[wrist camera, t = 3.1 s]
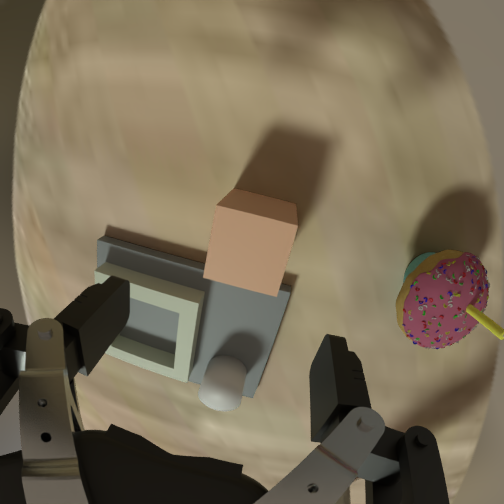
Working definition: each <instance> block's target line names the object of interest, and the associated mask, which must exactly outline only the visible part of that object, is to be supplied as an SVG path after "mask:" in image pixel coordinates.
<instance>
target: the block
mask: <svg viewBox="0 0 504 504" xmlns="http://www.w3.org/2000/svg"><path fill="white" fill-rule="evenodd" d="M297 228H298V218H297V208H296V204H295V203H291V202H287V201H283V200H280V199H276V198H272V197H268V196H264V195H260V194H256V193H252V192H248V191H244V190H240V189H235V188H234V189H233V190H231V191H230V192H229V193H228V194H227V195H226V196H225V197H224V198H223V199H222V200H221V201H220V202H219V203H218V204H217V205H216V210H215V215H214V220H213V225H212V230H211V236H210V241H209V247H208V252H207V258H206V263H205V269H204V275H203V278H206V279H210V280H213V281H217V282H221V283H225V284H228V285H232V286H236V287H240V288H243V289H247V290H251V291H255V292H259V293H263V294H267V295H271V296H275V297H277V294H278V291H279V288H280V285H281V282H282V278H283V275H284V272H285V269H286V265H287V262H288V259H289V255H290V252H291V249H292V245H293V242H294V239H295V235H296V232H297Z"/></svg>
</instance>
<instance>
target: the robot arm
mask: <svg viewBox="0 0 504 504" xmlns="http://www.w3.org/2000/svg"><path fill="white" fill-rule="evenodd" d="M129 315H130V282H129V281H128V280H126V279H122V278H119V277H116V276H113V275H112V276H110V277H109V278H108V279H107V280H106V281H105V282H103V283H102V284H100V283H97V284H95V285H92V286H90V287H88V288H87V289H85V290H84V291H83V292H82V293H81V294H80V295H79V296H78V297H77V298H76V299H75V300H74V301H72V302H71V303H70V304H69V305H68V306H67V307H66V308H65V309H64V310H63V311H61V312H60V313H59V314H58V315H57V316H56V317H55V318H54V319H51V318H42V319H39V320H36V321H34V322H33V323H32V324H31V325H30V326H28V325H23V324H19V323H14V320H13V316H12V314H11V312H10V311H8V310H6V309H2V308H0V415H1V414H2V412H3V410H4V409H5V408H6V406H7V405H8V403H9V402H10V401H11V399H12V398H13V396H14V395H15V394H16V392H17V391H18V389H19V418H20V419H19V420H20V435H21V446H22V450H20V451H17V452H13V453H9V454H6V455H2V456H0V504H351V502H350V485H351V483H352V482H353V481H354V479H355V478H356V477H359V478H362V479H365V490H366V504H449V498H448V493H447V487H446V482H445V477H444V472H443V467H442V463H441V458H440V454H439V450H438V446H437V442H436V439H435V437H434V435H433V434H432V433H431V432H430V431H429V430H428V429H426V428H424V427H421V426H413V427H411V428H409V429H408V430H407V431H406V432H405V433H403V432H400V431H397V430H394V429H391V428H388V427H386V426H385V423H384V420H383V418H382V417H381V416H380V415H379V414H378V413H377V412H376V411H374V410H373V409H371V404H370V399H369V395H368V390H367V386H366V381H365V377H364V373H363V368H362V364H361V361H360V360H359V358H358V357H357V355H356V354H355V353H354V352H351V351H348V347H347V342H346V339H345V338H344V337H339V336H335V335H330V334H326V335H325V337H324V339H323V341H322V343H321V345H320V347H319V349H318V352H317V354H316V356H315V358H314V360H313V362H312V365H311V369H310V375H309V378H310V411H311V441H312V442H321V444H320V445H318V446H317V447H316V448H315V449H314V450H313V451H312V452H311V453H310V454H309V455H308V456H307V457H306V458H305V459H304V460H303V461H302V462H301V463H300V464H299V465H298V466H297V467H296V468H294V469H293V470H292V471H291V472H290V473H289V474H288V475H287V476H286V477H285V478H283V479H282V480H281V481H280V482H279V483H278V484H277V485H275V486H274V487H273V488H272V489H271V490H270V491H268V490H267V489H266V488H265V487H264V486H262V485H261V484H260V483H259V482H257V481H256V480H254V479H252V478H251V477H249V476H247V475H245V474H242V468H243V465H241V464H236V463H231V462H226V461H222V460H218V459H214V458H210V457H193V456H180V455H173V454H170V453H168V452H166V451H165V450H163V449H161V448H160V447H158V446H156V445H155V444H153V443H151V442H150V441H148V440H147V439H145V438H144V437H142V436H140V435H137V434H135V433H132V432H130V431H127V430H125V429H122V428H120V427H118V426H115V425H113V424H111V425H110V427H109V428H108V430H107V431H102V430H84V426H83V423H82V419H81V414H80V409H79V403H78V398H77V391H76V385H75V379H74V377H75V375H76V374H77V373H78V372H79V373H81V374H83V375H86V376H88V375H89V374H90V372H91V371H92V370H93V368H94V367H95V366H96V364H97V363H98V361H99V360H100V359H101V357H102V356H103V355H104V353H105V352H106V351H107V349H108V348H109V347H110V345H111V344H112V343H113V341H114V340H115V339H116V337H117V336H118V335H119V333H120V332H121V331H122V329H123V328H124V327H125V325H126V324H127V322H128V319H129Z"/></svg>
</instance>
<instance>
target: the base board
mask: <svg viewBox="0 0 504 504" xmlns="http://www.w3.org/2000/svg"><path fill="white" fill-rule="evenodd" d="M204 269H205V264H204V263H200V262H197V261H193V260H189V259H186V258H182V257H178V256H175V255H171V254H167V253H164V252H160V251H157V250H153V249H149V248H146V247H142V246H139V245H135V244H132V243H128V242H125V241H121V240H118V239H114V238H111V237H107V236H103V237H101V238H99V239H98V240H97V269H96V270H95V271H94V272H95V284H97V283H100V284H102V283H103V282H105V281H106V280H107V279H108V278H109V277H110V276H112V275H113V276H116V277H119V278H122V279H126V280H128V281H129V282H130V315H129V319H128V322H127V324H126V325H125V327H124V328H123V329H122V331H121V332H120V333H119V335H118V336H117V337H116V339H115V340H114V341H113V343H112V344H111V345H110V347H109V348H108V349H107V351H106V352H105V353H106V354H108V355H110V356H113V357H115V358H118V359H120V360H123V361H125V362H128V363H131V364H133V365H136V366H139V367H141V368H144V369H147V370H150V371H152V372H155V373H158V374H161V375H164V376H167V377H170V378H173V379H176V380H179V381H182V382H186V383H187V382H188V381H190V382H193V383H197V384H200V385H201V386H200V388H199V391H198V396H199V399H200V400H201V402H202V403H203V404H205V405H206V406H208V407H210V408H212V409H215V410H218V411H231V410H234V409H236V408H237V407H239V405H240V403H241V398H242V396H246V397H250V398H253V396H254V394H255V391H256V389H257V386H258V383H259V381H260V378H261V375H262V373H263V370H264V367H265V365H266V362H267V359H268V356H269V354H270V351H271V348H272V345H273V343H274V340H275V337H276V334H277V331H278V328H279V326H280V323H281V320H282V317H283V314H284V311H285V308H286V305H287V302H288V299H289V296H290V293H291V286H289V285H285V284H281V285H280V288H279V291H278V294H277V297H275V296H271V295H267V294H263V293H259V292H255V291H251V290H247V289H243V288H240V287H236V286H232V285H228V284H225V283H221V282H217V281H213V280H210V279H206V278H203V275H204Z"/></svg>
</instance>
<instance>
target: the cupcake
mask: <svg viewBox="0 0 504 504" xmlns="http://www.w3.org/2000/svg"><path fill="white" fill-rule="evenodd" d="M486 274H487V270H486V269H485V268H484V266H483V265H482V263H481V262H480V260H479V258H477V257H476V256H475V255H473V254H471V253H468V252H465V253H463V252H461V251H456V250H450V249H448V250H444V251H441V252H438V253H434V252H428V253H424V254H421V255H419V256H418V257H416V258H415V259H414V260H413V261H412V262H411V263H410V264H409V266H408V268H407V269H406V272H405V275H404V283H403V286H402V288H401V290H400V292H399V295H398V297H397V300H396V311H397V322H398V325H399V327H400V328H401V330H402V331H403V333H404V334H405V335H406V337H407V338H409V339H410V340H411V341H413V343H414V344H418V345H419V346H422V347H425V348H429V349H430V348H432V349H435V348H436V349H439V348H445V346H450V345H452V344H454V343H455V342H456V343H458V341H459V340H461V339H462V338H464V337H465V336H466V335H467V334H468V333H470V331H471V330H473V329H474V328H475V327H477V326H476V325H477V324H478V323H479V322H480V323H481V324H482V325H484V326H485V327H486V328H487V329H488V330H490V331H491V332H492V333H493V334H494V335H496V336H497V337H498V338H499V339H500V340H503V339H504V329H503V328H502V327H500V326H499V325H498V324H496V323H495V322H494V321H493V320H491V319H490V318H489V317H487V316H486V315H485V314H483V312H484V311H485V308H486V306H487V300H488V298H489V295H488V293H489V291H488V288H489V287H490V283H488V277H487V275H486ZM488 286H489V287H488Z"/></svg>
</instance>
